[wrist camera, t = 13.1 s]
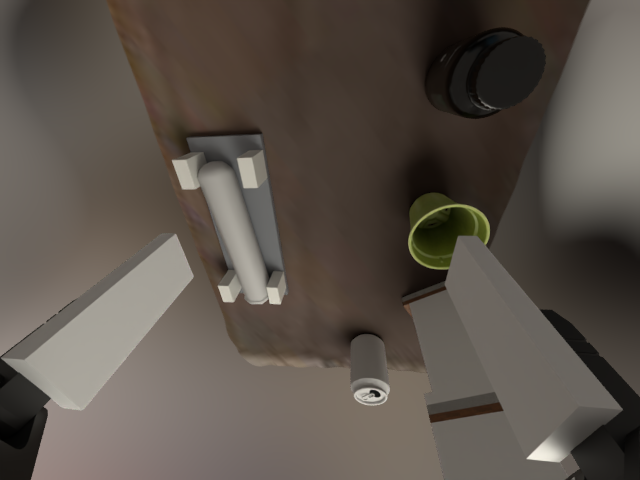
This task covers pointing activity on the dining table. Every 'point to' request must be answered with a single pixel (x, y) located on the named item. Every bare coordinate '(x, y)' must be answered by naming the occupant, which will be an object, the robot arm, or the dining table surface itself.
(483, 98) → the supplement bottle
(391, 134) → the dining table surface
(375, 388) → the can
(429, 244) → the plant pot
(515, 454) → the brown-trimmed grey box
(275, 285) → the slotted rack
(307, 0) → the dining table surface
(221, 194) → the tube
